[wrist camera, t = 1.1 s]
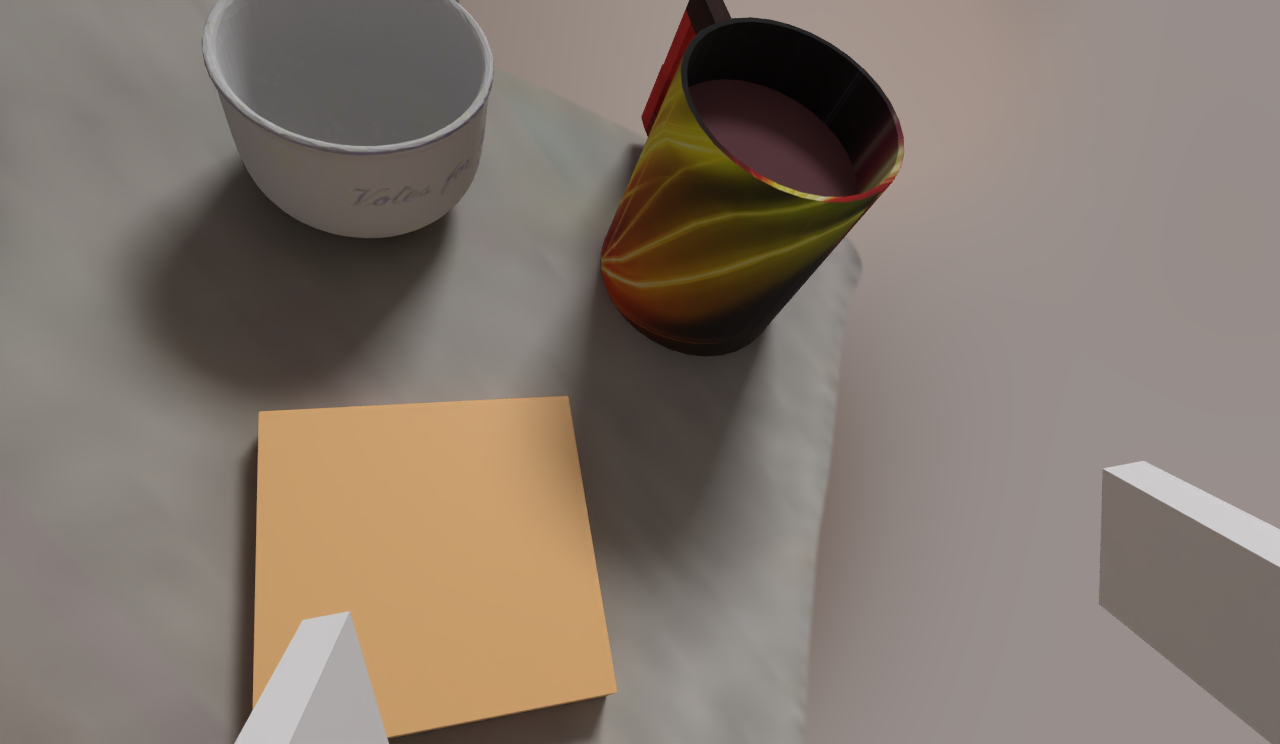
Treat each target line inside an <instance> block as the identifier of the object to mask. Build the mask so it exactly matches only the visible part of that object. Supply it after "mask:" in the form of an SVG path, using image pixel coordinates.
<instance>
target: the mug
mask: <svg viewBox="0 0 1280 744" xmlns="http://www.w3.org/2000/svg"><path fill="white" fill-rule="evenodd" d="M642 121H643V125H644V128H645V131H646V133H647V136H648V139H647V141H646V143H645V146H644V148H643V151H642V153H641V155H640V158H639V160H638V162H637V165H636V167H635V169H634V172H633V174H632V176H631V179H630V181H629V183H628V186H627V188H626V191H625V193H624V195H623V198H622V200H621V202H620V205H619V207H618V209H617V212H616V214H615V216H614V219H613V221H612V223H611V226H610V228H609V231H608V233H607V235H606V238H605V240H604V244H603V248H602V252H601V271H602V275H603V279H604V283H605V287H606V289H607V291H608V293H609V295H610V297H611V299H612V302H613V303H614V304H615V306H616V307H617V309H618V310H619V311H620V313H621V314H622V315H623V317H624V318H625V319H626V320H627V321H628V322H629V323H630V324H631V325H632V326H633V327H634V328H635V329H637V330H638V331H639V332H641V333H642V334H644V335H645V336H646V337H648V338H649V339H651V340H652V341H654V342H656V343H658V344H660V345H662V346H664V347H666V348H668V349H671V350H675V351H678V352H681V353H685V354H689V355H698V356H717V355H724V354H727V353H731V352H734V351H738V350H739V349H741V348H743V347H745V346H747V345H748V344H750V343H751V342H752V341H753V340H754V339H755V338H757V337H758V336H759V335H760V334H761V333H762V331H763V330H764V329H765V328H766V327H767V326H768V325H769V323H770V322H771V321H772V320H773V319H774V318H775V316H776V315H777V314H778V313H779V312H780V311H781V310H782V308H783V307H784V306H785V305H786V304H787V303H788V302H789V300H790V299H791V298H792V297H793V296H794V295H795V293H796V292H797V291H798V290H799V289H800V288H801V287H802V285H803V284H804V283H805V282H806V281H807V280H808V278H809V277H810V276H811V275H812V274H813V273H814V272H815V270H816V269H817V268H818V267H819V266H820V265H821V264H822V262H823V261H824V260H825V259H826V258H827V257H828V255H829V254H830V253H831V252H832V251H833V250H834V249H835V247H836V246H837V245H838V244H839V243H840V242H841V240H842V239H843V238H844V237H845V236H846V235H847V233H848V232H849V231H850V230H851V229H852V228H853V226H854V225H855V224H856V223H857V222H858V221H859V220H860V219H861V217H862V216H863V215H864V214H865V213H866V212H867V211H868V209H869V208H870V207H871V206H872V205H873V204H874V202H875V201H876V200H877V199H878V198H879V197H880V196H881V194H882V193H883V192H884V191H885V190H886V189H887V187H888V186H889V185H890V184H891V183H892V182H893V180H894V179H895V177H896V175H897V173H898V172H899V170H900V168H901V164H902V160H903V156H904V140H903V139H904V137H903V133H902V130H901V126H900V122H899V119H898V117H897V115H896V113H895V110H894V108H893V106H892V104H891V102H890V101H889V99H888V98H887V96H886V95H885V93H884V92H883V91H882V89H881V88H880V86H879V85H878V84H877V83H876V82H875V81H874V79H873V78H872V77H871V76H870V75H869V74H868V73H867V72H866V71H865V70H864V69H863V68H862V67H861V66H860V65H859V64H857V63H856V62H855V61H854V60H853V59H852V58H851V57H850V56H848V55H847V54H845V53H844V52H842V51H841V50H840V49H838V48H837V47H835V46H834V45H832V44H831V43H829V42H827V41H825V40H824V39H821V38H820V37H818V36H816V35H814V34H812V33H810V32H808V31H805V30H802V29H800V28H798V27H795V26H792V25H789V24H785V23H782V22H778V21H774V20H769V19H759V18H732V19H731V17H730V14H729V12H728V10H727V8H726V6H725V4H724V1H723V0H689V2H688V5H687V7H686V10H685V13H684V15H683V18H682V20H681V22H680V25H679V28H678V30H677V32H676V35H675V37H674V40H673V42H672V45H671V47H670V50H669V52H668V55H667V57H666V59H665V62H664V64H663V65H662V67H661V70H660V72H659V74H658V77H657V79H656V82H655V84H654V87H653V89H652V92H651V94H650V97H649V99H648V102H647V104H646V107H645V109H644V112H643V114H642Z"/></svg>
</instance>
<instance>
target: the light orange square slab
mask: <svg viewBox="0 0 1280 744" xmlns="http://www.w3.org/2000/svg"><path fill="white" fill-rule="evenodd" d="M347 611H350V613H351V617H352V620H353V624H354V627H355V630H356V634H357V637H358V641H359V644H360V647H361V651H362V654H363V658H364V661H365V664H366V668H367V671H368V674H369V678H370V681H371V685H372V688H373V691H374V695H375V698H376V702H377V705H378V708H379V712H380V715H381V719H382V722H383V725H384V729H385V732H386V736H387V739H390V738H395V737H400V736H406V735H411V734H416V733H421V732H426V731H431V730H436V729H441V728H446V727H451V726H456V725H461V724H466V723H472V722H477V721H482V720H487V719H492V718H497V717H502V716H507V715H512V714H517V713H522V712H527V711H532V710H537V709H543V708H548V707H553V706H558V705H563V704H568V703H573V702H578V701H583V700H588V699H593V698H598V697H603V696H608V695H611V694H614V693H616V692H617V687H616V681H615V675H614V669H613V663H612V657H611V651H610V645H609V639H608V633H607V627H606V621H605V615H604V609H603V603H602V597H601V591H600V585H599V579H598V573H597V567H596V561H595V555H594V549H593V543H592V537H591V531H590V524H589V518H588V512H587V506H586V500H585V494H584V488H583V482H582V476H581V470H580V464H579V458H578V452H577V446H576V440H575V434H574V428H573V422H572V416H571V410H570V404H569V398H568V396H552V397H533V398H513V399H494V400H474V401H454V402H435V403H415V404H395V405H376V406H356V407H337V408H317V409H297V410H278V411H259V427H258V476H257V524H256V573H255V621H254V670H253V709H254V707H255V705H256V704H257V702H258V700H259V698H260V696H261V695H262V693H263V691H264V689H265V687H266V685H267V684H268V682H269V680H270V678H271V676H272V675H273V673H274V671H275V669H276V667H277V666H278V664H279V662H280V660H281V658H282V657H283V655H284V653H285V651H286V649H287V647H288V646H289V644H290V642H291V640H292V638H293V637H294V635H295V633H296V631H297V629H298V628H299V626H300V624H301V622H302V620H305V619H310V618H316V617H321V616H326V615H331V614H337V613H342V612H347Z"/></svg>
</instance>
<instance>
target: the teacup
mask: <svg viewBox="0 0 1280 744" xmlns="http://www.w3.org/2000/svg"><path fill="white" fill-rule="evenodd" d="M202 51H203V57H204V62H205V66H206V68H207V71H208V73H209V76H210V78H211V80H212V82H213V83H214V85H215V87H216V89H217V90H218V93H219V96H220V100H221V103H222V106H223V109H224V112H225V115H226V118H227V121H228V124H229V127H230V130H231V133H232V136H233V139H234V141H235V144H236V147H237V149H238V152H239V154H240V156H241V158H242V161H243V163H244V165H245V167H246V169H247V171H248V172H249V174H250V175H251V177H252V179H253V180H254V182H255V183H256V184H257V186H258V187H259V188H260V189H261V191H262V192H263V193H264V194H265V195H266V196H267V197H268V198H269V199H270V200H271V201H272V202H273V203H274V204H276V205H277V206H278V207H279V208H280V209H282V210H283V211H284V212H286V213H287V214H289V215H290V216H291V217H293V218H295V219H297V220H299V221H300V222H302V223H305V224H307V225H309V226H311V227H313V228H316V229H319V230H322V231H325V232H328V233H332V234H336V235H341V236H347V237H357V238H383V237H391V236H396V235H401V234H405V233H409V232H412V231H415V230H417V229H420V228H423V227H425V226H427V225H429V224H431V223H433V222H434V221H436V220H438V219H439V218H441V217H442V216H443V215H445V214H446V213H447V212H448V211H450V210H451V209H452V208H453V207H454V206H455V205H456V204H457V203H458V202H459V201H460V199H461V198H462V197H463V195H464V194H465V193H466V191H467V189H468V188H469V186H470V184H471V183H472V181H473V179H474V176H475V174H476V171H477V168H478V165H479V161H480V156H481V152H482V146H483V140H484V133H485V124H486V115H487V105H488V96H489V94H490V91H491V88H492V81H493V73H494V61H493V55H492V52H491V49H490V46H489V44H488V40H487V38H486V36H485V34H484V32H483V31H482V29H481V27H480V26H479V25H478V24H477V23H476V21H475V20H474V18H473V17H472V16H471V15H470V14H469V13H468V12H467V11H466V10H465V9H464V8H463V7H462V6H461V5H459V0H218V1H217V2H216V4H215V5H214V7H213V8H212V10H211V12H210V14H209V15H208V17H207V20H206V22H205V25H204V32H203V37H202Z"/></svg>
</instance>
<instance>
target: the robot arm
mask: <svg viewBox="0 0 1280 744" xmlns="http://www.w3.org/2000/svg"><path fill="white" fill-rule="evenodd" d="M1100 554H1101V555H1100V588H1099V604H1100V605H1101V606H1102V607H1104V608H1105V609H1106V610H1107V611H1108V612H1109V613H1111V614H1112V615H1113V616H1115V617H1116V618H1117V619H1118V620H1119V621H1121V622H1122V623H1123V624H1124V625H1126V626H1127V627H1128V628H1129V629H1131V630H1132V631H1133V632H1134V633H1135V634H1137V635H1138V636H1139V637H1140V638H1142V639H1143V640H1144V641H1145V642H1147V643H1148V644H1149V645H1150V646H1152V647H1153V648H1154V649H1155V650H1156V651H1158V652H1159V653H1160V654H1161V655H1163V656H1164V657H1165V658H1166V659H1168V660H1169V661H1170V662H1171V663H1173V664H1174V665H1175V666H1176V667H1178V668H1179V669H1180V670H1181V671H1183V672H1184V673H1185V674H1186V675H1187V676H1189V677H1190V678H1191V679H1192V680H1193V681H1195V682H1196V683H1197V684H1198V685H1200V686H1201V687H1202V688H1203V689H1205V690H1206V691H1207V692H1208V693H1210V694H1211V695H1212V696H1213V697H1214V698H1216V699H1217V700H1218V701H1219V702H1221V703H1222V704H1223V705H1224V706H1226V707H1227V708H1228V709H1230V710H1231V711H1232V712H1233V713H1234V714H1236V715H1237V716H1238V717H1239V718H1240V719H1242V720H1243V721H1244V722H1245V723H1247V724H1248V725H1249V726H1250V727H1252V728H1253V729H1254V730H1255V731H1256V732H1258V733H1259V734H1260V735H1261V736H1263V737H1264V738H1265V739H1266V740H1268V741H1269V742H1270V743H1272V744H1280V529H1278V528H1275V527H1274V526H1272V525H1270V524H1268V523H1266V522H1264V521H1262V520H1260V519H1258V518H1256V517H1254V516H1252V515H1250V514H1248V513H1246V512H1244V511H1242V510H1240V509H1238V508H1236V507H1234V506H1232V505H1230V504H1228V503H1226V502H1224V501H1222V500H1220V499H1218V498H1216V497H1214V496H1212V495H1210V494H1208V493H1206V492H1204V491H1202V490H1200V489H1198V488H1196V487H1194V486H1193V485H1191V484H1188V483H1186V482H1185V481H1183V480H1180V479H1179V478H1177V477H1175V476H1173V475H1170V474H1168V473H1167V472H1165V471H1163V470H1161V469H1159V468H1157V467H1155V466H1153V465H1151V464H1148V463H1147V462H1145V461H1141V462H1135V463H1130V464H1125V465H1119V466H1114V467H1109V468H1103V480H1102V516H1101V551H1100ZM234 744H389V742H388V739H387V736H386V732H385V729H384V725H383V722H382V719H381V715H380V712H379V708H378V705H377V702H376V698H375V695H374V691H373V688H372V685H371V681H370V678H369V674H368V671H367V668H366V664H365V661H364V658H363V654H362V651H361V647H360V644H359V641H358V637H357V634H356V630H355V627H354V624H353V620H352V617H351V613H350V611H347V612H342V613H337V614H331V615H326V616H321V617H316V618H310V619H305V620H302V622H301V624H300V626H299V628H298V629H297V631H296V633H295V635H294V637H293V638H292V640H291V642H290V644H289V646H288V647H287V649H286V651H285V653H284V655H283V657H282V658H281V660H280V662H279V664H278V666H277V667H276V669H275V671H274V673H273V675H272V676H271V678H270V680H269V682H268V684H267V685H266V687H265V689H264V691H263V693H262V695H261V696H260V698H259V700H258V702H257V704H256V705H255V707H254V709H253V711H252V713H251V714H250V716H249V718H248V720H247V722H246V723H245V725H244V727H243V729H242V731H241V733H240V734H239V736H238V738H237V740H236V742H235V743H234Z"/></svg>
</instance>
